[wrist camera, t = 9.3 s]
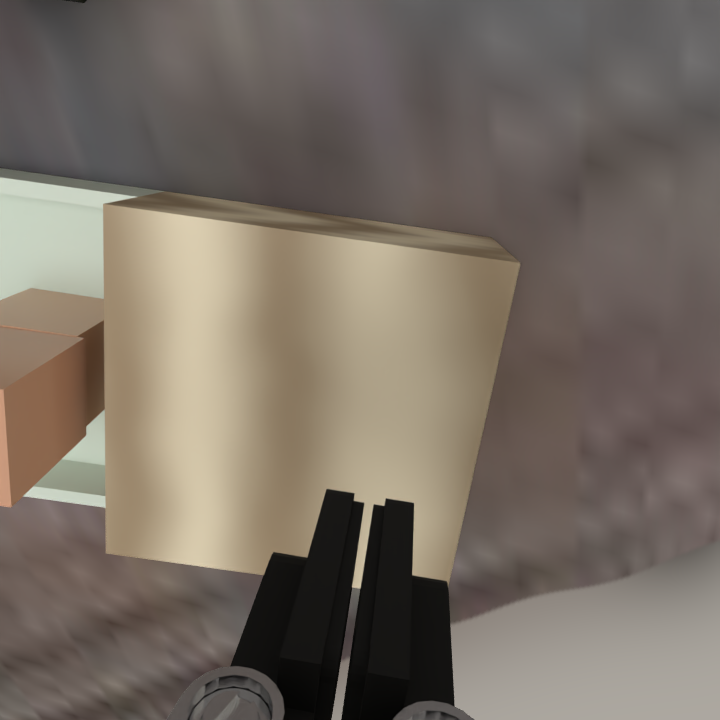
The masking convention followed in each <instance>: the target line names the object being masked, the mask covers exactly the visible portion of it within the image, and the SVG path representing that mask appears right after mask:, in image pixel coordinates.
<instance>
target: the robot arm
mask: <svg viewBox="0 0 720 720" xmlns="http://www.w3.org/2000/svg"><path fill="white" fill-rule="evenodd" d="M354 495H355V493H350V492H344V491H338V490H332V489H326V492H325V496H324V499H323V503H322V507H321V510H320V514H319V517H318V521H317V524H316V528H315V532H314V535H313V539H312V542H311V546H310V550H309V553H308V557H301V556H295V555H289V554H283V553H277V552H273V554H272V555H271V557H270V560H269V562H268V565H267V568H266V571H265V573H264V576H263V579H262V582H261V584H260V587H259V590H258V593H257V595H256V598H255V601H254V603H253V606H252V609H251V612H250V614H249V617H248V620H247V623H246V625H245V628H244V631H243V633H242V636H241V639H240V642H239V644H238V647H237V650H236V653H235V655H234V658H233V661H232V663H231V666H230V667H222V668H219V669H216V670H213V671H210V672H208V673H205V674H204V675H203V676H201V677H200V678H198V679H197V680H195V681H194V682H192V684H191V685H190V686H189V687H188V688H187V690H186V691H185V692H184V693H183V694H182V696H181V697H180V699H179V701H178V702H177V704H176V705H175V707H174V709H173V710H172V712H171V713H170V715H169V717H168V718H167V720H331V718H332V712H333V706H334V700H335V693H336V687H337V681H338V675H339V668H340V662H341V656H342V650H343V643H344V637H345V631H346V624H347V618H348V611H349V604H350V598H351V591H352V584H353V577H354V571H355V564H356V557H357V550H358V544H359V537H360V530H361V523H362V517H363V510H364V502H357V501H354ZM413 531H414V503H412V502H406V501H400V500H393V499H387V498H386V500H385V505H384V506H382V505H376V504H374V505H373V511H372V518H371V524H370V530H369V537H368V543H367V550H366V556H365V563H364V569H363V576H362V582H361V589H360V595H359V602H358V608H357V615H356V621H355V628H354V635H353V642H352V649H351V656H350V663H349V670H348V678H347V685H346V691H345V699H344V706H343V712H342V719H341V720H474V719H473V718H471V717H470V716H469V715H467V714H466V713H465V712H464V711H462V710H460V709H458V708H456V707H455V706H454V688H453V669H452V649H451V631H450V611H449V592H448V583H447V581H443V580H438V579H432V578H426V577H420V576H414V575H412V567H413Z"/></svg>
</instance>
